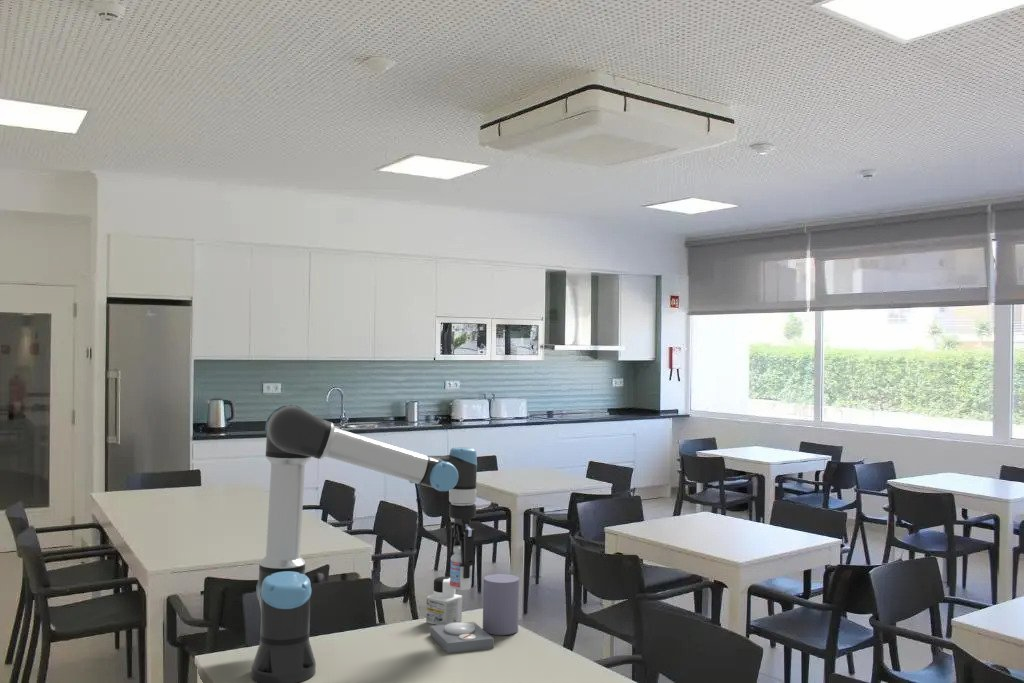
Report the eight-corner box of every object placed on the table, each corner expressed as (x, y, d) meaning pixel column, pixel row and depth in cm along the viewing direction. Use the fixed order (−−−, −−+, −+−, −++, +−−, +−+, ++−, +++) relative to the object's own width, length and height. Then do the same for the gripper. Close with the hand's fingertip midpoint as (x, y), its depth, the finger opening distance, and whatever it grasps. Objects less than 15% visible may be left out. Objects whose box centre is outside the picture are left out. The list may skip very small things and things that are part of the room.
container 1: (425, 622, 251) (426, 578, 252) (442, 616, 258) (443, 573, 258) (445, 627, 247) (446, 582, 247) (462, 621, 253) (463, 577, 254)
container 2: (490, 623, 252) (491, 572, 252) (523, 628, 248) (524, 576, 249) (476, 633, 242) (478, 580, 243) (510, 638, 239) (511, 584, 239)
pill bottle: (446, 588, 235) (447, 547, 235) (455, 583, 240) (456, 543, 241) (466, 591, 232) (467, 550, 233) (475, 586, 238) (476, 546, 238)
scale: (447, 653, 225) (447, 639, 225) (430, 635, 239) (430, 622, 240) (493, 648, 229) (493, 634, 230) (473, 630, 244) (473, 618, 244)
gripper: (487, 508, 230) (485, 594, 229) (464, 497, 247) (462, 577, 247) (460, 509, 227) (459, 596, 226) (439, 498, 245) (438, 579, 244)
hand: (461, 586), depth 236 cm, fingers closed on pill bottle, 6 cm apart
